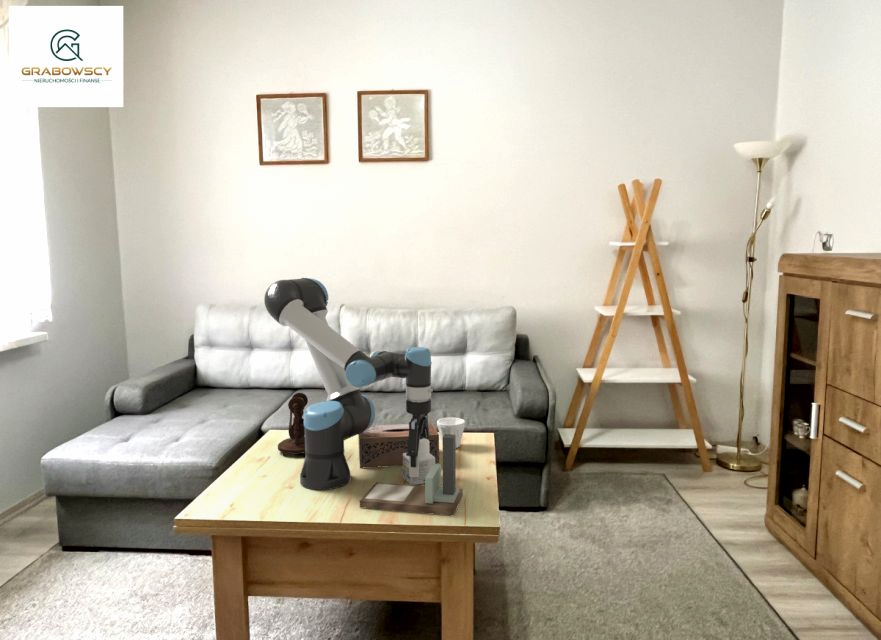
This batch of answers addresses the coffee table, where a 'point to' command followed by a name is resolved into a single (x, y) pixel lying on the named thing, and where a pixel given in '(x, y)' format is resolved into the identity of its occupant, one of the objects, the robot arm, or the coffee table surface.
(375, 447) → the tissue box cover
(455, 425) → the cup
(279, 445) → the dark brown upright piece
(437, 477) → the slider
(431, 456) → the container
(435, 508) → the brown wooden base tray
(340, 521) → the coffee table surface
